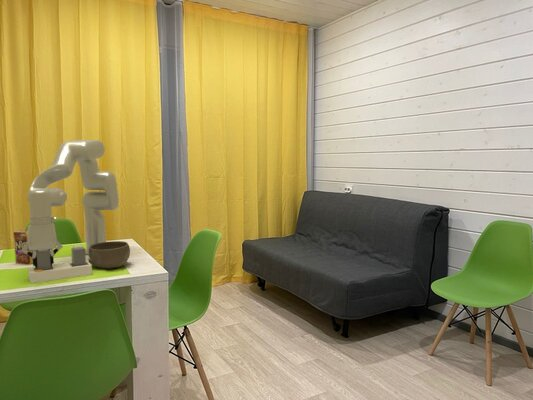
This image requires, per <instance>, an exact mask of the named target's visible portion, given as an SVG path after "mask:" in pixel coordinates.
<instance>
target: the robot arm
mask: <svg viewBox="0 0 533 400" xmlns="http://www.w3.org/2000/svg"><path fill="white" fill-rule="evenodd" d="M105 150H106V149H105V145H104V143H103V142H102V141H101V140H99V139H72V140H68V141H64V142H63V141H62V142H61V144H59V147H58V149H57V152H56V154H55V156H54V159H53V161H52V164H51V165H50V166H49V167H48V168H46V169H45V170H43V171H42V172H41V173H39V174H38V175H37V176H35V178H34V179H33V181H31V185H30V187H29V190H28V192H27V201H28V204H29V223H30V224H28V225H27V230H26V231H27V244H26V245H25V246H24V248H23V249H22V252H24V253H26V254H28V255H29V256H30V257H32V258H33V264H32V267H34V266H35V268H37V258H36V253H37V251H38V250H44V249H49V250H50V264H51V266H52V264H55V262H54V261H55V260H54V256H55V255H56V254H57V253H58V252H59V251H60V250H61V249H62V248H63V245H62V244H61V243H60V241H59V240H58V239H57V233H56V226H55V223H53V222H56V221H57V217H56V216H55V217H53V216H52V207H61V206H63V205H64V204H65V203H67V202H66V201H67V200H68V198H67V197H68V195H67V193H66V191H65V190H64V189H62V188H59V187H58V188H57V187H53V188H51V187H49V188H48V186H49V185H52V184H54V183H56V182H59V181H62V180H64V179H67V178H69V177H70V176H72V174H73V172H74V168H75V166H76V163H78V166H79V170H80V171H79V172H80V176H81V177H80V178H81V183H82V187H83V188H84V189H85V190H87V191H88V190H89V191H88V192H85V193H84V194H83V196H82V198H81V199H82V200H81V201H82V202H81V203H82V207H83V210H84V220H85V221H84V223H85V225H84V226H85V244H86V246H85V247H86V248H85V255H88V256H89V247H90V246H91V245H93V244H97V243H102V242H107V237H106V236H107V234H106V233H107V232H106V217H105V214H103V212H102V211H115V210H117V209H118V208H119V202H120V201H119V200H120V198H119V193H118V192H119V191H118V190H119V189H118V184H117V180H116V179H117V178H116V176H115V174H114V173H113V172H112V171H107V170H100V169H99V168H100V167H99V163H98V160H97V159H100V158H102V157H103V156H104V154H105ZM27 249H29V250H30V251H32V253H31V252H30V251H28V250H27Z"/></svg>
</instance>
